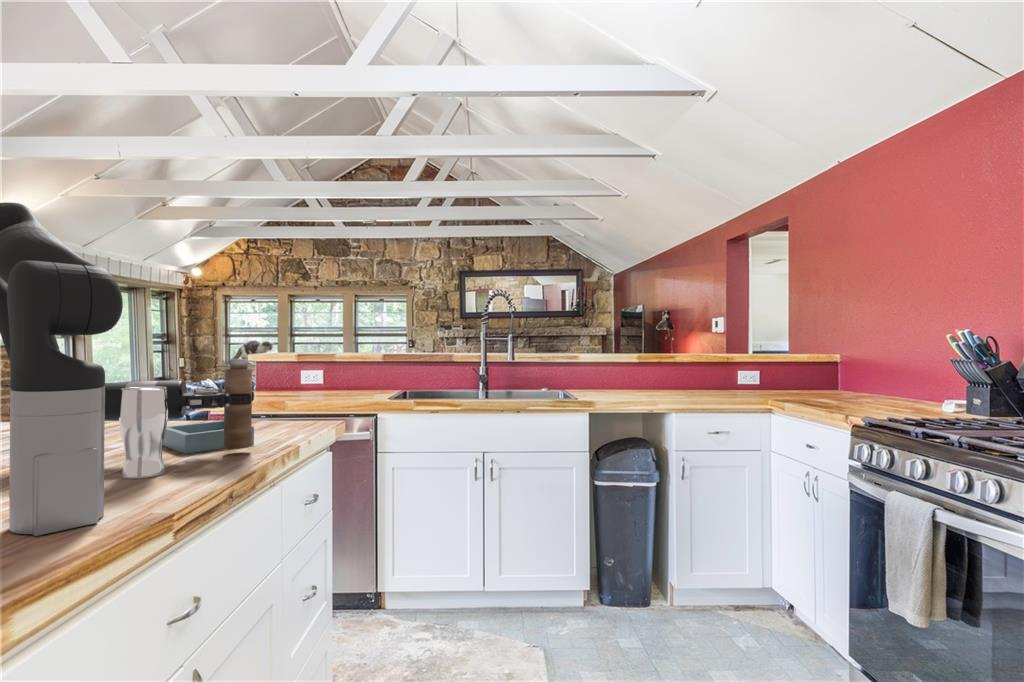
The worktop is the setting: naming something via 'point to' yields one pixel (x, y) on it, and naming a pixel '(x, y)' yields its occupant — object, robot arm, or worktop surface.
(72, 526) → the robot arm
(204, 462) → the worktop surface
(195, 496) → the worktop surface
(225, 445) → the pepper mill
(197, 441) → the tray
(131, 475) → the beer glass
